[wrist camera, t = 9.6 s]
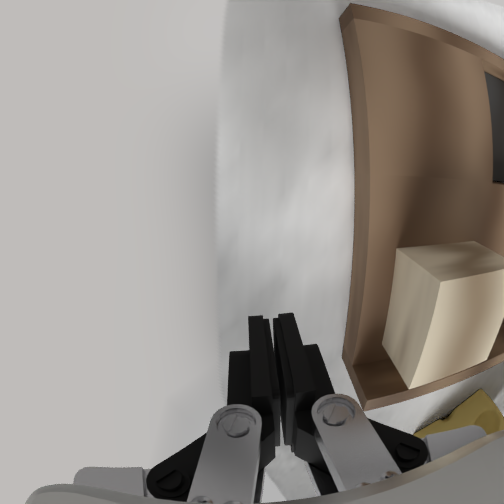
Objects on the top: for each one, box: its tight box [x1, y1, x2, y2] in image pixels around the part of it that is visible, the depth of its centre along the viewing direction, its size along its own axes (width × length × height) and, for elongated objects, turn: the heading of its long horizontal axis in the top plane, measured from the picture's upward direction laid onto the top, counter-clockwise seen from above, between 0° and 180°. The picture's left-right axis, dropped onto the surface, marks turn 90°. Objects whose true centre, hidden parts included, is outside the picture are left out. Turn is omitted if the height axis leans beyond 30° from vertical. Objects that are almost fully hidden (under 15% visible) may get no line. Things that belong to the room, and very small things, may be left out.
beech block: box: [382, 241, 504, 389], centre depth 12 cm, size 6×6×4 cm
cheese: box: [414, 389, 504, 438], centre depth 18 cm, size 10×11×10 cm
